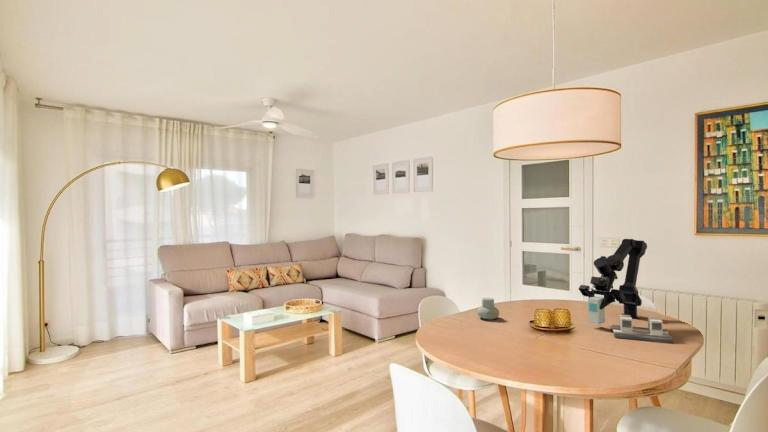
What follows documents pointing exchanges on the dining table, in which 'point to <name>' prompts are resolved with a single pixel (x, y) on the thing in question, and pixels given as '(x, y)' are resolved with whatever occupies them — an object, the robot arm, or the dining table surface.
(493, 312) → the air freshener
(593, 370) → the dining table surface
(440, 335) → the dining table surface
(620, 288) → the robot arm
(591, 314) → the block
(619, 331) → the rail board
